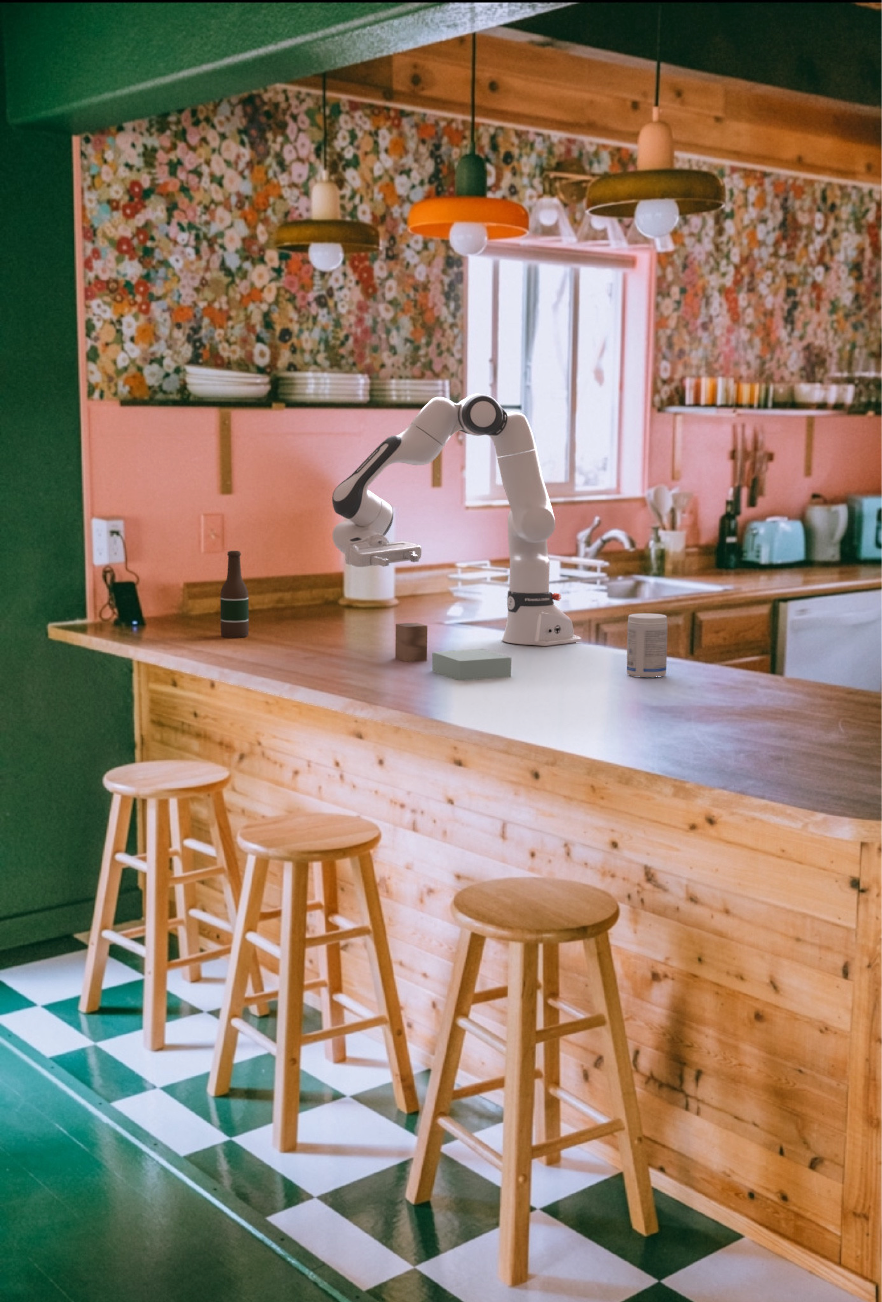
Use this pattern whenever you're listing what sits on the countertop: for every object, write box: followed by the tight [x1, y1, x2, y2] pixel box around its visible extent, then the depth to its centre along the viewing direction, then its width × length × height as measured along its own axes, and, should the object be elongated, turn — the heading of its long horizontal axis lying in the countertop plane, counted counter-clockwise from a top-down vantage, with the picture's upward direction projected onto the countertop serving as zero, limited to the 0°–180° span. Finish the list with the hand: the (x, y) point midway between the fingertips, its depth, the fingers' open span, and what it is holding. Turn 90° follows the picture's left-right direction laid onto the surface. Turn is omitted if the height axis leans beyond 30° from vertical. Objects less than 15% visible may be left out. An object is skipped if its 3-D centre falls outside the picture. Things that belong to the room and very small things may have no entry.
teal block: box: [431, 648, 512, 681], centre depth 321 cm, size 14×14×5 cm
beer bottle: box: [219, 550, 250, 639], centre depth 372 cm, size 8×8×24 cm
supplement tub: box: [626, 612, 668, 677], centre depth 321 cm, size 10×10×15 cm
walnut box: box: [394, 622, 428, 663], centre depth 339 cm, size 6×6×9 cm
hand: (401, 561), depth 345 cm, fingers open, 8 cm apart
